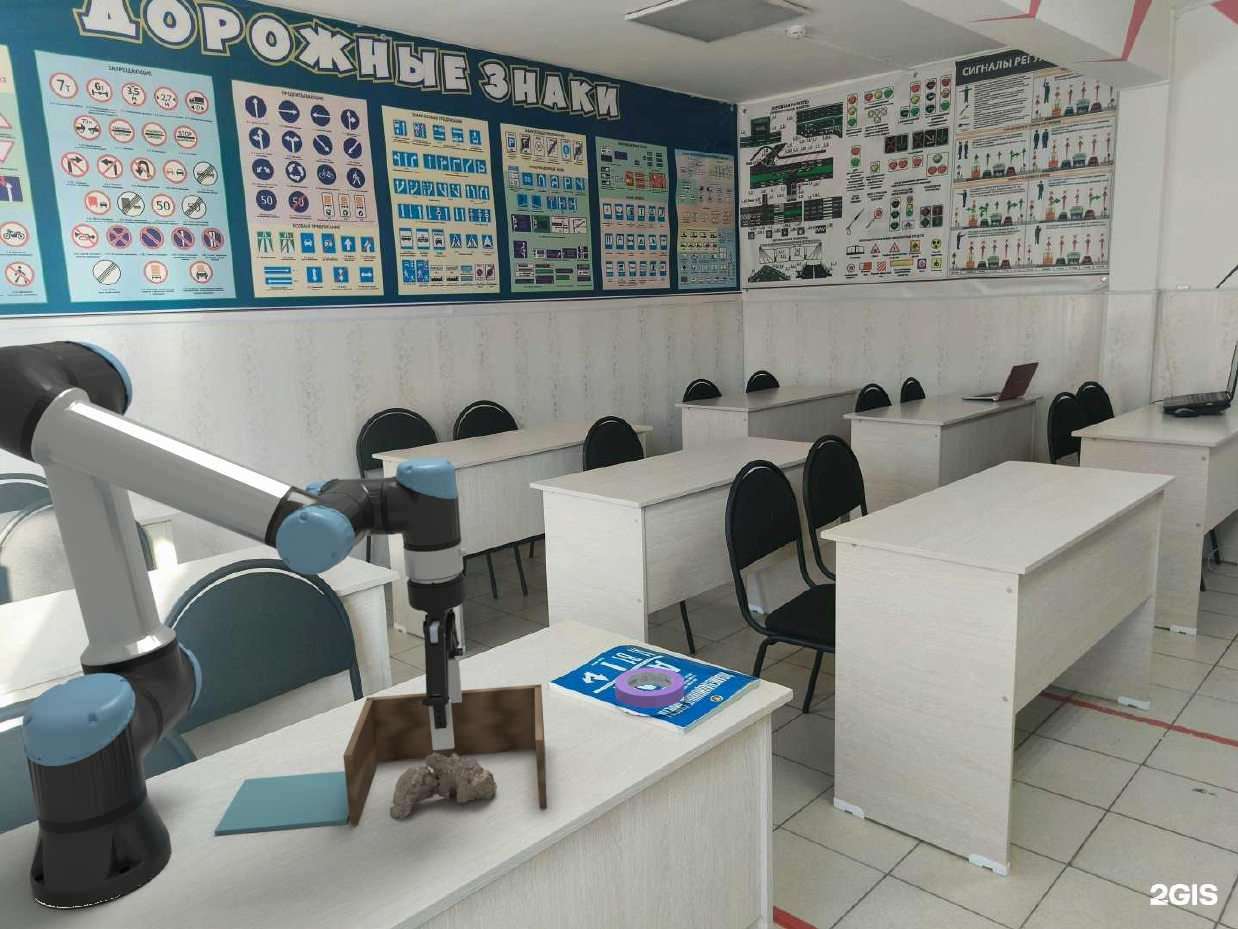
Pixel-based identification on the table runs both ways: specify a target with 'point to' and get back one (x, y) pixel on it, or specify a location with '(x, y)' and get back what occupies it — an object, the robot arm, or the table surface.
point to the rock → (442, 782)
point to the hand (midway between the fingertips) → (448, 724)
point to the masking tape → (649, 677)
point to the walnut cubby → (477, 728)
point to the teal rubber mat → (287, 803)
